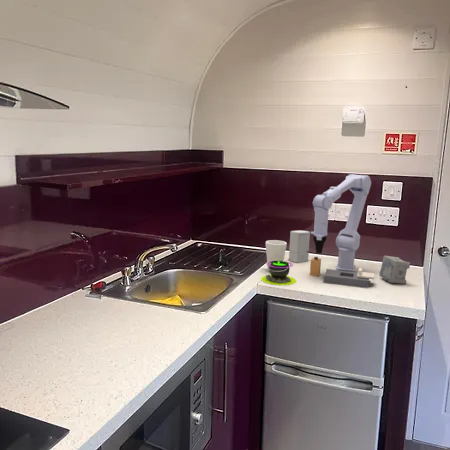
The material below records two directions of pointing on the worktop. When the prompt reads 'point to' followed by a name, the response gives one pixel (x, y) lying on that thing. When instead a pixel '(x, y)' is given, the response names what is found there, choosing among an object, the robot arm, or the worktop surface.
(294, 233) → the skincare box
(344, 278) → the socket
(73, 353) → the worktop surface
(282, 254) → the foam cup
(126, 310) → the worktop surface
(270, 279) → the toy cauldron
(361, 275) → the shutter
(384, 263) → the grey rough block
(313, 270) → the orange bottle
